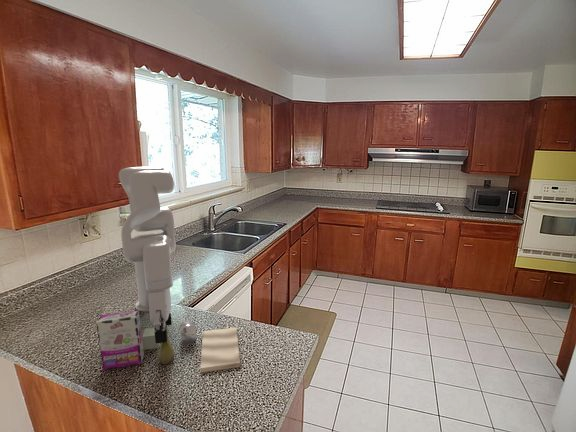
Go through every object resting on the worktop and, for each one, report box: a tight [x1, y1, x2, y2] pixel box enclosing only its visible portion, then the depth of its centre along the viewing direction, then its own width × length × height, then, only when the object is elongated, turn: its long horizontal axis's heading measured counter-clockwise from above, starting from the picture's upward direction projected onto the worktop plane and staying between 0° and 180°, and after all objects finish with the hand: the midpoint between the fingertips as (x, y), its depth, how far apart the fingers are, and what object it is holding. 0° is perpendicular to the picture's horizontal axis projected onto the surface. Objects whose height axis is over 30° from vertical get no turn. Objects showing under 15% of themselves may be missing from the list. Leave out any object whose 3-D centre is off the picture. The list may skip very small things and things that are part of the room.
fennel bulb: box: [157, 324, 175, 365], centre depth 99 cm, size 6×5×12 cm
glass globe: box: [179, 320, 197, 345], centre depth 111 cm, size 5×5×6 cm
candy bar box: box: [96, 309, 145, 371], centre depth 98 cm, size 11×5×16 cm, turn 105°
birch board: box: [199, 327, 241, 373], centre depth 106 cm, size 20×12×2 cm, turn 13°
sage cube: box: [142, 327, 161, 351], centre depth 108 cm, size 5×5×5 cm
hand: (164, 333), depth 98 cm, fingers open, 9 cm apart
